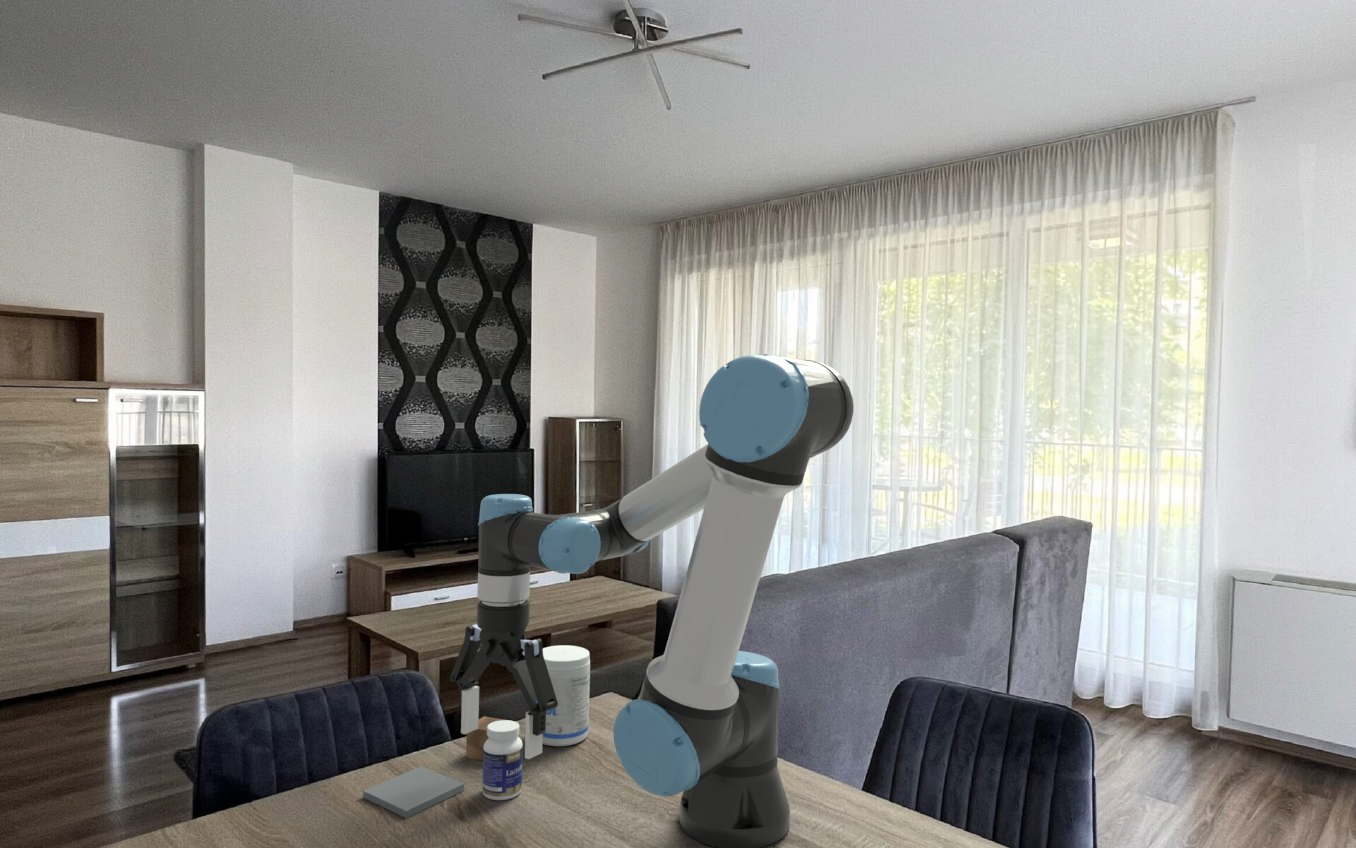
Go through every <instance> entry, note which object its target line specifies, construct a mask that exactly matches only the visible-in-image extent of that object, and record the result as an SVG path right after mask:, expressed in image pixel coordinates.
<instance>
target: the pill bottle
mask: <svg viewBox="0 0 1356 848" xmlns="http://www.w3.org/2000/svg"><path fill="white" fill-rule="evenodd" d="M519 734H520V724H519V722H517V721H513V720H508V719H504V720H501V721H495V722H492V723H490V724H489V725H488V726H487V736H488V737H489V739H488V740H487V741H486V742H485V744H484V747H483V760H482V794H483V796H484V797H485V798H487V799H488V800H493V801H507V800H511V799H513V798H516V797H517V796H518V795H519V794H520V793H521V792H522V789H523V750H524V749H523V741H522V739H521V738H520V737H519Z"/></svg>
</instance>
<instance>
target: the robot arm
mask: <svg viewBox="0 0 1356 848" xmlns="http://www.w3.org/2000/svg"><path fill="white" fill-rule="evenodd" d="M854 409H855V408H854V398H853V395H852V392H851V389H850V387H849V385H848V383H847V382H846V380H845V378H844V377H843V376H841V373H839V372H838V371H837V370H835V369H834V368H833V367H831V366H829V365H827V363H823V362H820V361H815V360H811V359H799V358H793V357H787V356H781V355H775V354H771V353H760V354H749V355H748V354H747V355H744V356H740V357H737V358H734V359H732V360H730V361H728V362H727V363H725V364H723V365H722V366H721V367H720V368H719V369H717V371H715V373H714V374H713V375H712V376H711V377H710V379H709V381H708V382H707V384H706V386H705V388H704V390H703V392H702V395H701V399H700V403H699V413H698V414H699V415H698V417H699V425H700V427H702V429H703V431H704V432H703V437H704V439H705V441H706V443H707V444H706V445H704V446H703V447H701V448H699V449H698V450H695V451H694V452H693V453H691V454H689V455H688V456H686V457H685V458H682V459H681V460H680V461H678V462H677V463H675V464H674V465H672V466H671V467H669V468H667V469H666V470H664V471H663V472H661V473H659V474H658V475H656V476H655V477H653V478H651V479H649V480H648V481H646V482H645V483H643V484H642V485H640V486H639V487H637V488H635V489H633V490H632V491H630V492H629V493H628V494H626V495H624V496H623V497H622V498H620V499H618V500H617V501H615V502H612V503H611V504H610V505H609V506H606V507H603V508H600V509H592V510H586V511H580V512H579V511H578V512H573V513H565V514H546V513H538V512H534V508H533V501H532V498H531V497H529V496H528V495H524V494H518V493H500V494H498V493H496V494H490V495H487V496H485V497H483V498H482V499H481V502H480V507H479V516H478V523H477V526H478V564H477V565H478V572H477V596H476V597H477V598H478V599H479V600H480V601H479V602H478V603H477V606H476V607H477V608H476V610H477V614H476V616H477V617H476V623H475V624H472V625H468V626H466V627H465V632H464V640H463V643H462V645H461V648H460V650H459V652H458V656H457V659H456V661H455V663H454V666H453V667H452V671H451V673H450V675H449V680H450V681H451V683H456V684H457V686H458V689H459V708H460V710H461V713H460V714H461V716H460V717H461V719H460V724H461V726H460V727H461V728H460V733H461V734H462V735H467V733H469V732H471V731H474V730H476V729H478V720H479V719H480V718H479V714H480V712H479V711H480V708H479V706H480V686H478V685H477V684H479V681H478V680H479V679H480V678H481V676H482V675H483V673H484V672H485V670H487V668H488V667H489V666H490V664H499V665H500V666H501V667H506V669H507V671H508V672H509V673H512V675H513V677H514V679H515V681H516V684H517V685H518V687H519V690H520V691H521V694H522V696H523V698H524V700H525V702H526V704H527V707H528V708H529V711H526V712H525V732H524V733H525V734H524V735H525V736H524V738H525V740H524V759H526V760H527V759H528V760H530V759H532V758H535V757H536V756H539V755H541V754H542V753H543V744H542V742H543V733H545V730H546V711H549V710H551V709H553V708H556V707H557V706H558V702H557V698H556V695H555V692H554V689H553V685H552V682H551V679H550V676H549V672H548V669H547V666H546V663H545V660H544V656H543V648H544V647H543V641H542V639H541V638H536V639H533V640H531V639H527V636H526V629H527V628H528V626H529V624H530V609H531V607H530V605H531V604H530V602H529V600H528V598H529V597H530V593H531V592H530V589H531V567H534V568H540V569H544V570H547V571H548V570H549V571H552V572H555V573H558V574H564V575H565V574H573V575H580V574H583V573H586V572H587V571H588V570H589V569H590V568H591V567H592V566H594V565H595V563H596V562H600V561H603V560H609V559H614V558H619V557H627V556H631V555H633V554H636V553H638V552H641V551H642V550H644V549H645V548H647V547H648V545H649V544H650V542H651V540H652V539H653V538H655V537H657V536H658V535H660V534H663V533H664V532H666V531H667V530H670V529H671V528H673V527H674V526H676V525H678V524H679V523H682V522H684V521H686V520H687V519H689V518H691V517H692V516H695V514H698V513H699V512H701V511H702V515H701V518H700V522H699V526H698V530H697V533H696V536H695V539H694V543H693V544H694V545H693V546H692V547H693V548H692V550H691V551H692V552H691V554H690V558H689V563H688V566H687V570H686V573H685V576H684V580H683V584H682V587H681V588H682V589H681V592H680V595H679V598H678V603H677V605H676V606H677V607H676V609H675V614H674V617H673V620H672V623H671V628H670V631H669V636H668V638H667V639H668V640H667V641H666V646H665V650H664V652H663V654H662V655H660V656H658V657H655V658H653V659H651V661H650V662H649V663H648V665H647V668H646V671H645V675H644V678H643V682H642V685H641V690H640V693H639V695H638V697H637V699H633V700H631V701H628V702H627V703H626V704H625V706H623V707H622V708H621V709H620V711H618V714H616V715H617V716H616V717H615V721H614V725H613V744H614V748H615V751H616V754H617V756H618V758H619V759H620V761H621V766H622V768H623V769H624V771H625V773H626V774H627V775H628V776H629V777H630V778H631V780H632V781H633V782H634V783H635V784H636V785H638V786H639V787H640V788H641V789H642V790H644V791H646V792H647V793H649V794H651V795H654V796H658V797H665V798H667V797H673V796H676V795H678V794H680V793H681V792H682V796H681V799H680V803H679V824H680V826H681V828H682V829H683V830H684V832H685V833H686V834H687V835H688V836H690V837H691V838H693V839H694V840H696V841H698V842H700V843H702V844H705V845H708V846H711V847H716V848H764V847H767V846H770V845H773V844H775V843H777V842H779V841H780V840H781V839H782V838H784V837H785V836H786V835H787V833H788V832H789V829H790V825H791V824H790V823H791V821H790V820H791V819H790V817H791V816H790V815H791V810H790V804H789V801H788V797H787V795H786V791H785V787H784V784H783V781H782V778H781V775H780V771H779V768H778V757H779V756H778V754H779V753H778V752H779V751H778V750H779V749H778V748H779V744H778V743H779V700H780V699H779V696H780V693H779V692H780V689H781V685H780V684H779V668H778V666H777V664H776V663H775V662H774V661H773V660H772V659H771V658H770V657H768V656H764V655H762V654H758V653H755V652H749V651H743V650H740V649H741V648H740V647H741V644H742V640H743V638H744V637H743V636H744V634H745V631H746V627H747V624H748V620H749V616H750V613H751V610H752V607H753V603H754V599H755V596H756V593H757V589H758V587H759V583H760V581H761V580H760V579H761V576H762V572H763V571H764V567H765V562H766V559H767V556H768V552H769V550H770V545H771V542H772V539H773V535H774V533H775V532H774V531H775V529H776V525H777V522H778V519H779V516H780V512H781V508H782V505H783V502H784V498H785V496H786V495H787V494H788V493H791V492H793V491H795V490H796V489H798V488H800V487H801V486H802V484H803V480H804V477H805V474H806V471H807V468H808V463H809V460H810V459H811V458H814V457H816V456H818V455H820V454H822V453H824V452H827V451H829V450H830V449H832V448H834V447H835V446H836V445H837V444H839V442H840V441H842V439H844V437H845V436H846V434H847V433H848V432H849V429H850V427H851V425H852V421H853V416H854ZM480 646H481V647H480ZM479 648H480V649H479ZM536 700H537V701H538V703H536Z"/></svg>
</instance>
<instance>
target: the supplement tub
mask: <svg viewBox="0 0 1356 848" xmlns="http://www.w3.org/2000/svg"><path fill="white" fill-rule="evenodd" d="M543 656H544V660H545V663H546V666H547V669H548V672H549V676H550V679H551V682H552V685H553V689H554V692H555V695H556V698H557V702H558V706H557V707H556V708H553V709H551V710H549V711H546V730H545V733H543V742H542V745H545V746H549V747H550V746H553V747H567V746H572V745H576V744H579V743H580V742H582V741H584V740H585V739H586V738H587V736H588V734H589V722H590V721H589V719H590V717H589V716H590V713H589V711H590V687H591V686H590V682H591V659H590V657H591V655H590V651H589V650H588V649H587V648H584V647H581V646H577V645H568V644H567V645H563V644H562V645H550V646H547V647H543ZM536 703H538V701H537V700H536Z"/></svg>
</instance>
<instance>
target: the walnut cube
mask: <svg viewBox="0 0 1356 848" xmlns="http://www.w3.org/2000/svg"><path fill="white" fill-rule="evenodd" d="M501 720H505V719H504V718H503V719H502V718H496V717H489V716H486V715H484V716H482V717H481V718H478V729H476V730H474V731H471V732H469V733H467V734H466V751H465V752H466V758H468V759H473V760H479V761H483V747H484V744H485V742H486V741H487V740H488V739H489V737H488V736H487V726H488V725H489V724H490V723H492V722H495V721H501Z"/></svg>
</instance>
